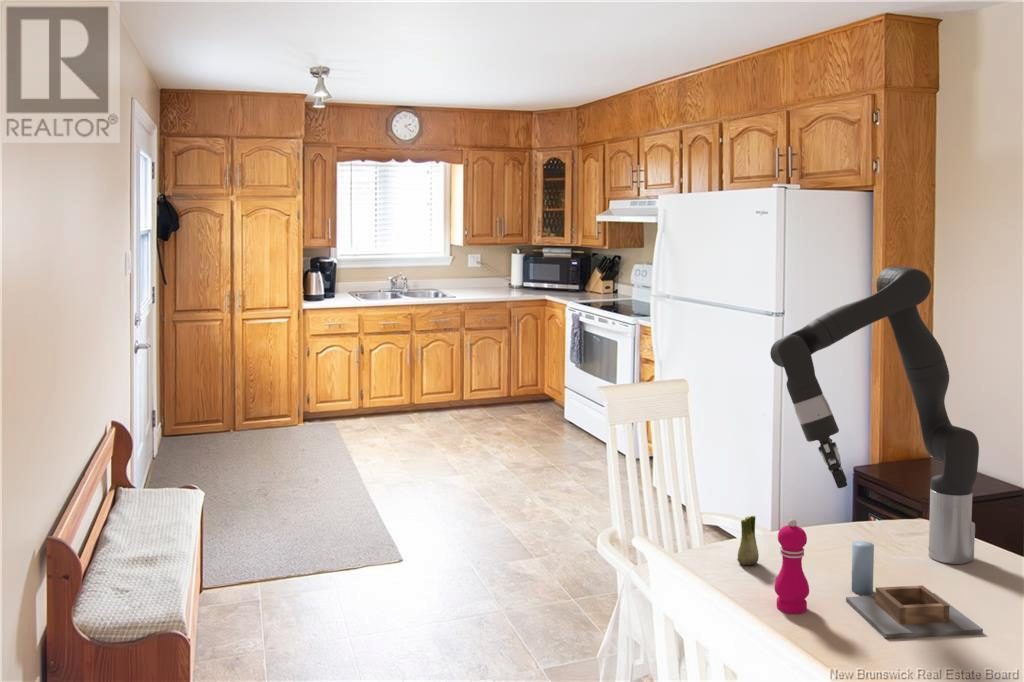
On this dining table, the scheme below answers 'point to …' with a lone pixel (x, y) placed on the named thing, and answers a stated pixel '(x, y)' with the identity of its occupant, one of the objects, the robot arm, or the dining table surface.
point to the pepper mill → (792, 570)
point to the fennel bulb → (748, 543)
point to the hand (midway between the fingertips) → (842, 484)
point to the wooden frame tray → (911, 613)
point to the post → (862, 567)
